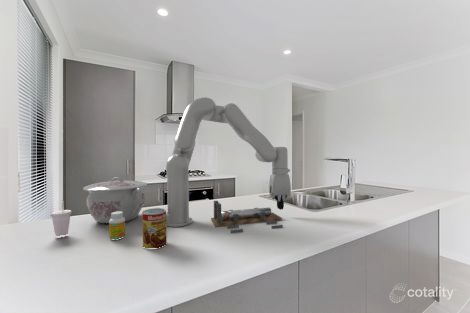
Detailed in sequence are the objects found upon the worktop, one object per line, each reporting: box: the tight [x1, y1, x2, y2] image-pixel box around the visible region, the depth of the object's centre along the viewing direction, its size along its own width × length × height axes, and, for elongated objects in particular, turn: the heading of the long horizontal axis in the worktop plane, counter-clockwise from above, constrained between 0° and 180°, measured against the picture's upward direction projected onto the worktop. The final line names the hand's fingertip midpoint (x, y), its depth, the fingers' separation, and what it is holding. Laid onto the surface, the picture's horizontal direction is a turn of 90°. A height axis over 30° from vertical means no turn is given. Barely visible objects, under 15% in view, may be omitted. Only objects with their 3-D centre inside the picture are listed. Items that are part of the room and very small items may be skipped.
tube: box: [221, 207, 272, 220], centre depth 106 cm, size 24×4×4 cm, turn 107°
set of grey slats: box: [226, 221, 284, 234], centre depth 96 cm, size 23×6×1 cm, turn 107°
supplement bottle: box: [108, 211, 126, 240], centre depth 85 cm, size 5×5×10 cm
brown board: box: [210, 200, 283, 228], centre depth 106 cm, size 32×10×9 cm, turn 107°
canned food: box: [141, 207, 168, 248], centre depth 79 cm, size 8×8×12 cm
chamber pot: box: [82, 176, 148, 225], centre depth 108 cm, size 28×28×21 cm
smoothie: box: [50, 200, 72, 237], centre depth 87 cm, size 6×6×14 cm
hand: (280, 208), depth 111 cm, fingers closed
